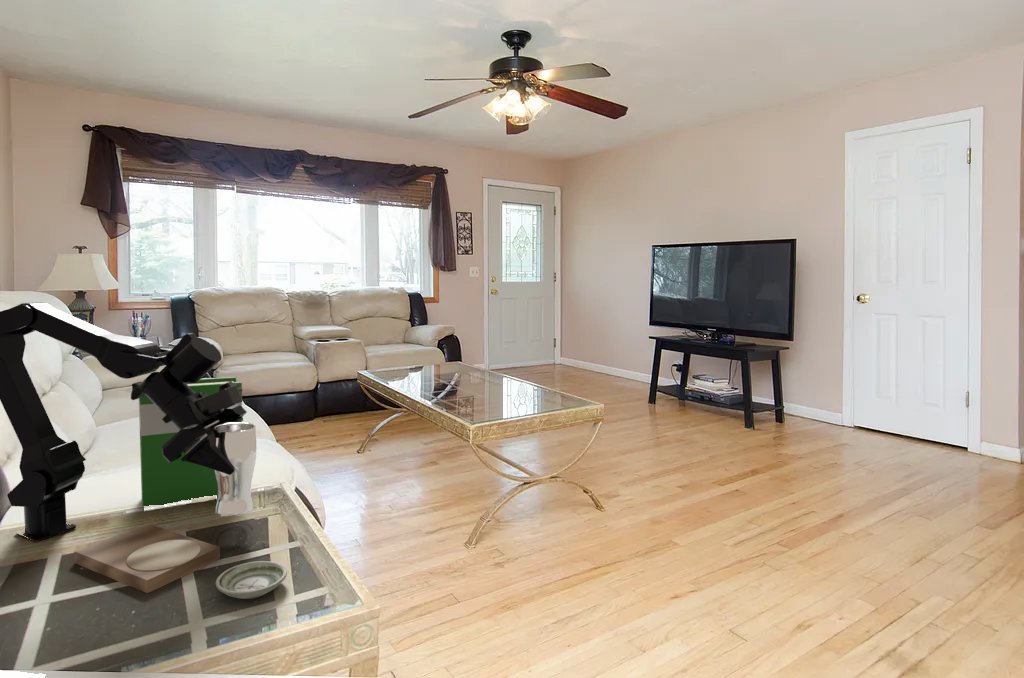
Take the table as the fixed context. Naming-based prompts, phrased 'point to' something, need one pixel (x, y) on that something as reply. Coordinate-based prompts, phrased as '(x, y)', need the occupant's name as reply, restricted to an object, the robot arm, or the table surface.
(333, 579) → the table surface
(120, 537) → the walnut base
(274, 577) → the saucer
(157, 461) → the hardback book
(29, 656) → the table surface
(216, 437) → the metal tumbler
